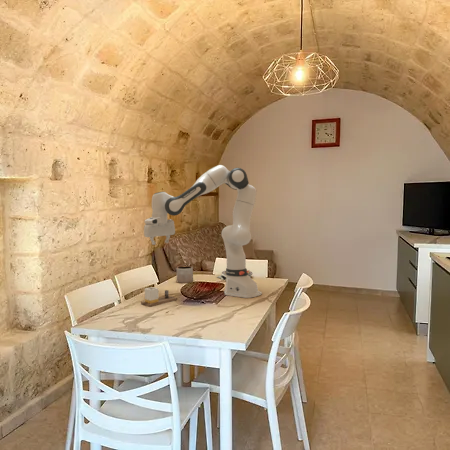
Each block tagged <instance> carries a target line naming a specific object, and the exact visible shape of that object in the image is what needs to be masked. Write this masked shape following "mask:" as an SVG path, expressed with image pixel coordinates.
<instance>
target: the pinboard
mask: <svg viewBox="0 0 450 450" xmlns="http://www.w3.org/2000/svg"><path fill="white" fill-rule="evenodd" d="M177 300H178V297H174V296H172V295H169V290H164V296H160V297H159V296H158V302H155V303H147V302H145V300H142V301H140V304H141V305H142V306H146V307H149V308H151V307H155V306H159V305H163V304H166V303H167V304H168V303H170V302H175V301H177Z"/></svg>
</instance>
